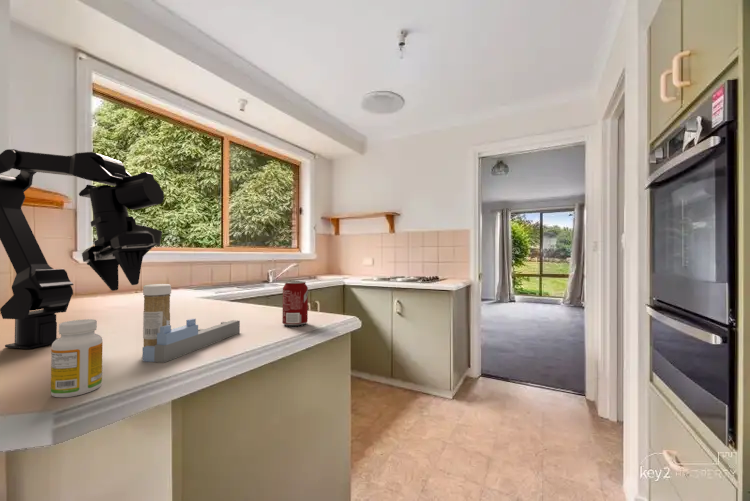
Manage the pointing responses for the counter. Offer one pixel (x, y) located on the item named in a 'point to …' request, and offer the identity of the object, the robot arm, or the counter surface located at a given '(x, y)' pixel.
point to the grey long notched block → (186, 339)
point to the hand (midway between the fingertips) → (124, 287)
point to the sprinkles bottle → (155, 311)
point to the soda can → (295, 303)
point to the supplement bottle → (76, 359)
